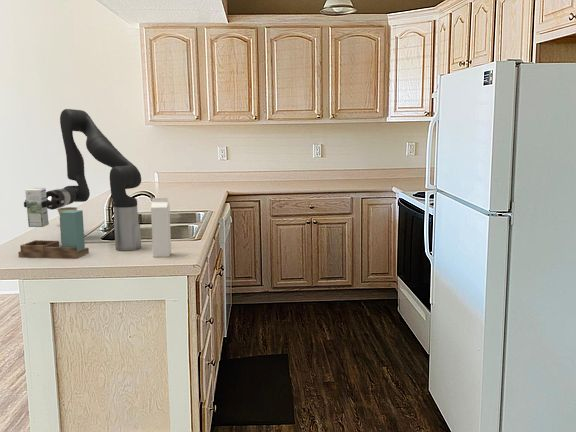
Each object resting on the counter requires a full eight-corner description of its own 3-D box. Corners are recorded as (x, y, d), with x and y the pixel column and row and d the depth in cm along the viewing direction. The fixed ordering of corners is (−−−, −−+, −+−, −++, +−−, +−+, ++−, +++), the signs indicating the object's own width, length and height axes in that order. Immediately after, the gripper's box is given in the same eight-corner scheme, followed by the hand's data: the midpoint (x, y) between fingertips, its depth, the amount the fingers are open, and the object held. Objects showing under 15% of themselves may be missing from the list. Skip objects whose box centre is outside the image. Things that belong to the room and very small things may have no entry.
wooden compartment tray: (88, 252, 224) (88, 241, 223) (76, 258, 214) (75, 246, 213) (33, 251, 227) (32, 240, 226) (18, 257, 217) (17, 245, 216)
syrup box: (49, 224, 223) (46, 187, 220) (43, 227, 217) (40, 189, 214) (34, 224, 222) (31, 187, 220) (27, 227, 217) (24, 189, 214)
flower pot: (61, 228, 279) (60, 210, 278) (55, 225, 286) (54, 208, 285) (81, 225, 285) (80, 208, 284) (74, 223, 292) (73, 206, 291)
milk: (155, 253, 222) (153, 197, 219) (171, 253, 222) (169, 196, 219) (152, 257, 216) (150, 198, 213) (169, 256, 216) (166, 198, 213)
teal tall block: (84, 248, 222) (82, 210, 219) (77, 252, 216) (74, 212, 214) (68, 248, 223) (66, 210, 220) (60, 251, 217) (58, 212, 214)
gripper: (39, 189, 233) (14, 194, 216) (73, 189, 231) (50, 195, 214) (40, 207, 234) (16, 214, 217) (74, 208, 232) (52, 214, 216)
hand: (33, 204), depth 216 cm, fingers closed on syrup box, 6 cm apart
